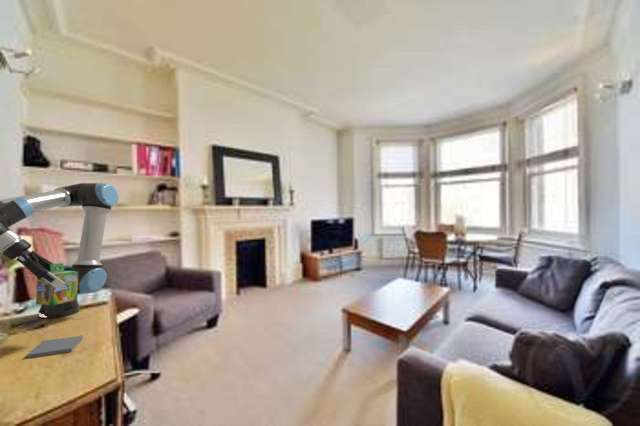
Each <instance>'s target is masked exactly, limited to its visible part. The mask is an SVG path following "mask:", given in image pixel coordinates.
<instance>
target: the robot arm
mask: <svg viewBox="0 0 640 426" xmlns="http://www.w3.org/2000/svg"><path fill="white" fill-rule="evenodd" d="M118 202H119V193H118V190H117V189H116V187H115V186H114V185H112V184H110V183H107V182H89V183H87V182H85V183H83V182H81V183H80V182H79V183H75V184H70V185H66V186H62V187H57V188H54V190H51V191H50V190H49V191H45V192H39V193H33V194H27V195H21V196H14V197H10V198H2V199H0V253H1V255H2V256H4V257H5V258H6V259H8V260H9V261H13V260H15V259H16V261H17V262H19V263H20V264H22V265H23V266H24V267H25V268H26V269H27V270H28V271H29V272H30V273H32V274H33V275H34V276H35V277H36V280H37V279H39V280H40V279H41V278H42V277H43V278H42V279H44V280H45V281H47V282H48V283H50V284H51V285H53V286H54V287H55V288H57V289H59V288H61V287H62V286H63V285H64V284H65V283H64V282H63V281H62V280H60V279H59V278H57V277H56V276H54V275H53V274H52V273H50V272H51V270H50V265H51V264H54V263H53V262H51V261H50V260H48V259H46V258H45V257H43V256H42V255H40V254H38V253H37V252H36V251H34V250H31V251H30V250H29V249H30V248H32V243H30V242H28V241H27V240H26V239H24V238H22V237H21V235H19V234H18V233H16V232H14V231H13V230H12V229H10V227H12V226H14V225H15V224H17V223H19V222H21V221H23V220H24V219H27V218H28V217H30V216H31V215H33V214H34V212H38V211H43V210H48V209H52V208H53V209H54V208H56V207H60V208H65V207H66V208H67V207H76V206H77V207H78V206H80V207H82V210H84V212H85V213H84V218H83V223H82V230H81V235H80V236H81V237H80V241H79V246H78V254H77V260H76V261H74V262H73V263H71V264H70V263H69V264H66V265H64V264H63V266H64V271H77V272H78V291H77V294H93V293H96V292H99V290H100V289H101V288H103V286H104V285H105V283H106V281H107V272H106V270H105V269H103V263H102V262H101V261H100V257H101V252H102V251H101V250H102V244H103V238H104V232H105V226H106V221H107V220H106V219H107V214H108V213H109V212H111V211H112V207H113V206H115V205H116V204H117V203H118ZM54 269H55V270H59V269H60V267H59V266H56V267H54ZM48 272H49V273H48ZM47 273H48V274H47ZM37 277H38V278H37ZM79 311H80V304H79V302H78V299H77V300H76V301H71V302H67V303H62V304H58V305H54V306H51V305H41V304H40V307H39V310H38V312H39V313H41V314H44V315H45V316H47V317H48V318H47V319H55V318H57V319H58V318H63V317H67V316H71V315H74V314H76V313H78V312H79Z"/></svg>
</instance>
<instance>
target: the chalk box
mask: <svg viewBox="0 0 640 426" xmlns="http://www.w3.org/2000/svg"><path fill="white" fill-rule="evenodd" d="M63 265H64V263H63V262H61V263H60V262H57V263H53V264H51V265H50V270H51V272H50V273H52V274H53V275H54V276H56V277H57V278H59V279H60V280H62V281H63V282H64V283H65V284H64V285H63V286H62V287H61V288H59V289H57V288H55V287H54V286H53V285H51V284H50V283H48V282H47V281H45V280H44V279H42V278H43V277H42V278H41V279H40V280H39V279H37V278H38V277H36V295H35V296H36V298H35V300H36V302H35V304H36V305H40V306H41V305H51V306H54V305H58V304H62V303H67V302H71V301H76V300H77V301H78V293H77V291H78V272H77V271H64V266H63ZM56 266H59V267H60V269H59V270H55V269H54V267H56ZM48 273H49V272H48ZM48 273H47V274H48Z"/></svg>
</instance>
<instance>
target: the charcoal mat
mask: <svg viewBox="0 0 640 426" xmlns="http://www.w3.org/2000/svg"><path fill="white" fill-rule="evenodd" d="M83 340H84V336H83V335H78V336H77V335H76V336H69V337H62V338H55V339H45V340H42V341H41V342H40V343H39V344H37V345H36V346H35V347H34V348H32V350H30V351H29V352H28V353H27V354H26V359H31V358H39V357H44V356H52V355H59V354H65V353H72V352H73V351H74V349H75V348H76V347H77V346H79V345H78V344H80V343H81V342H82V341H83Z"/></svg>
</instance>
